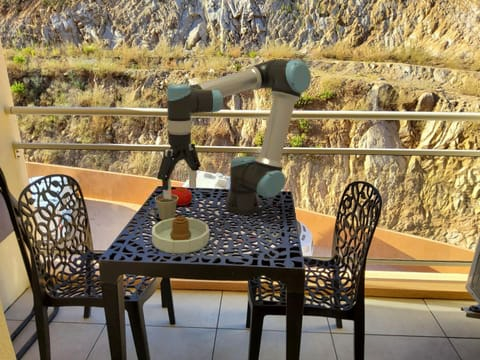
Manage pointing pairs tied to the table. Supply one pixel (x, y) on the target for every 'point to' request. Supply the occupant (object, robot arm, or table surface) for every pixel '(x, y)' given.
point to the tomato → (182, 196)
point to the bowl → (167, 244)
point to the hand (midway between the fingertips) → (180, 192)
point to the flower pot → (166, 206)
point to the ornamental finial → (180, 229)
